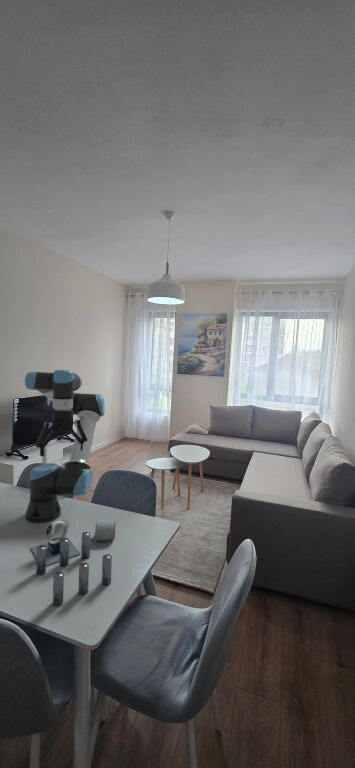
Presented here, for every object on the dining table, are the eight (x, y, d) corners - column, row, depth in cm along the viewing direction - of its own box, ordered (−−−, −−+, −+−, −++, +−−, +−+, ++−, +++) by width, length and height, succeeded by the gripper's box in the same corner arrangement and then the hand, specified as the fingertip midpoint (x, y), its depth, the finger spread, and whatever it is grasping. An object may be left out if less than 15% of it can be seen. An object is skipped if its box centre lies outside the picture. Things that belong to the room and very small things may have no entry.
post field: (35, 571, 115) (35, 546, 115) (87, 553, 127) (88, 531, 126) (54, 607, 100) (55, 579, 99) (112, 583, 112) (113, 557, 111)
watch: (42, 549, 127) (43, 521, 126) (63, 543, 132) (64, 516, 131) (47, 557, 123) (47, 528, 122) (68, 550, 128) (69, 522, 127)
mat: (30, 548, 129) (30, 547, 129) (66, 537, 137) (66, 536, 137) (41, 567, 118) (41, 566, 118) (80, 554, 126) (80, 553, 126)
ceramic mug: (115, 543, 135) (115, 524, 135) (94, 544, 133) (94, 526, 133) (114, 530, 145) (115, 512, 145) (95, 531, 144) (95, 513, 143)
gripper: (32, 412, 122) (31, 469, 124) (96, 408, 138) (94, 459, 140) (26, 409, 128) (26, 463, 130) (88, 405, 144) (87, 454, 146)
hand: (61, 461), depth 135 cm, fingers open, 13 cm apart
